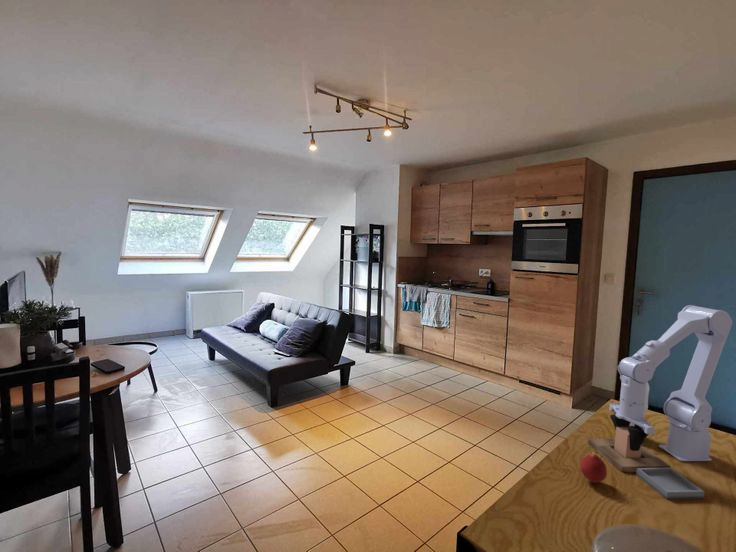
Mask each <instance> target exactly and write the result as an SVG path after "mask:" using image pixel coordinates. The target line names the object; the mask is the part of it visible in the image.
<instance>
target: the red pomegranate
mask: <svg viewBox="0 0 736 552" xmlns="http://www.w3.org/2000/svg"><path fill="white" fill-rule="evenodd" d="M580 471H581V473H582V475H583V476H584V478H586V479H587V480H588V481H589V482H590V483H592V484H594V483H600V482H602V481H604V480H605V479H606V478H607V474H608V473H607V472H608V471H607V466H606V464H605V462H604V461H603V460H602V459H601V458H600V457H599V456H598V455H597V454H596V453H595V452H590V454H588V455H586V456H584V457H583V458H582V460H581V461H580Z"/></svg>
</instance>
